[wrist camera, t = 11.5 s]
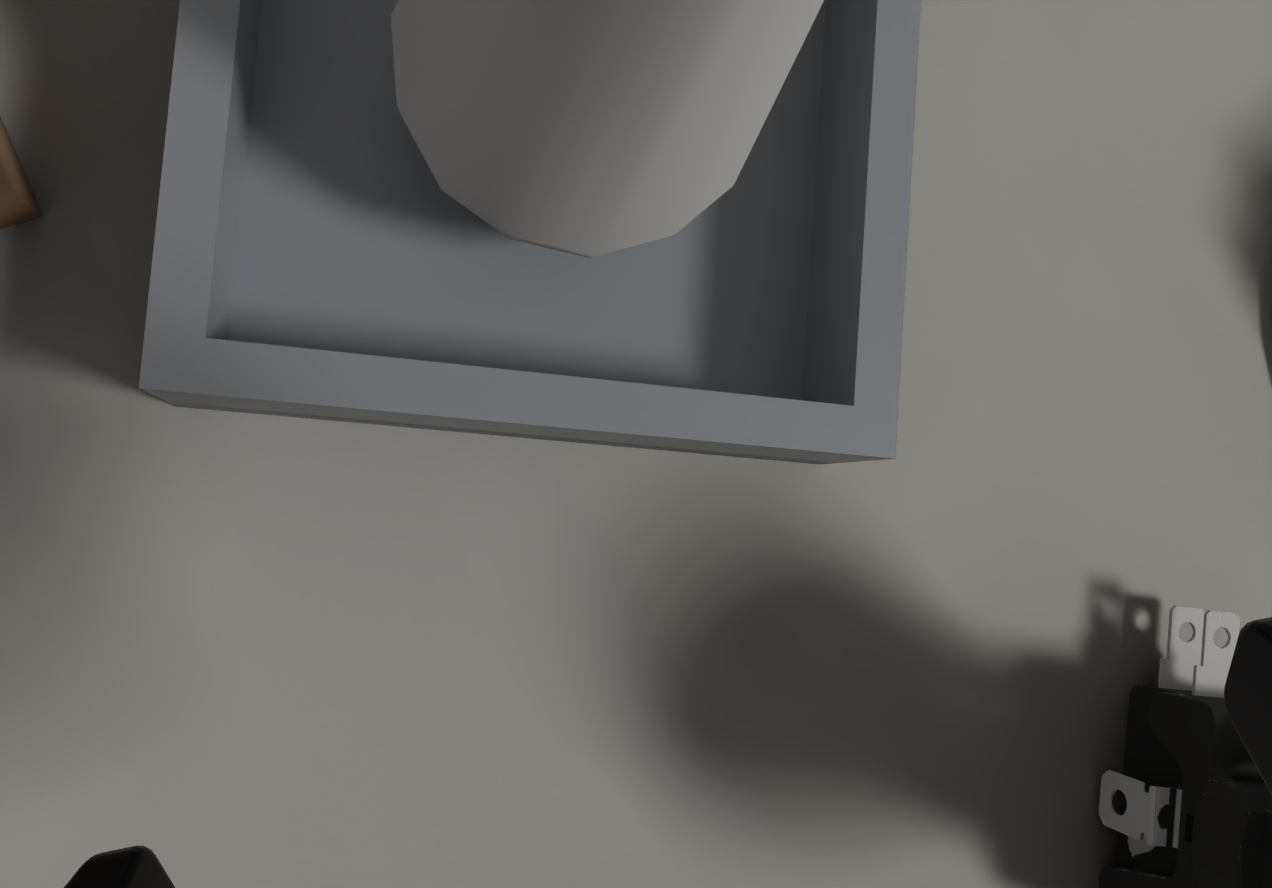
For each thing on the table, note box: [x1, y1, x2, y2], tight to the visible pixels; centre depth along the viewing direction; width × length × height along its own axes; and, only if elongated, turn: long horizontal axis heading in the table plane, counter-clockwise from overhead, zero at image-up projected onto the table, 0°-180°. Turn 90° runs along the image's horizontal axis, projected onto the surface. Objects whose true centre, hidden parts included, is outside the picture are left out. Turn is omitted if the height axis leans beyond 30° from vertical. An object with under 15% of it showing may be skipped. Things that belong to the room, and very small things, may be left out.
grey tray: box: [139, 0, 921, 464], centre depth 18 cm, size 12×12×3 cm
